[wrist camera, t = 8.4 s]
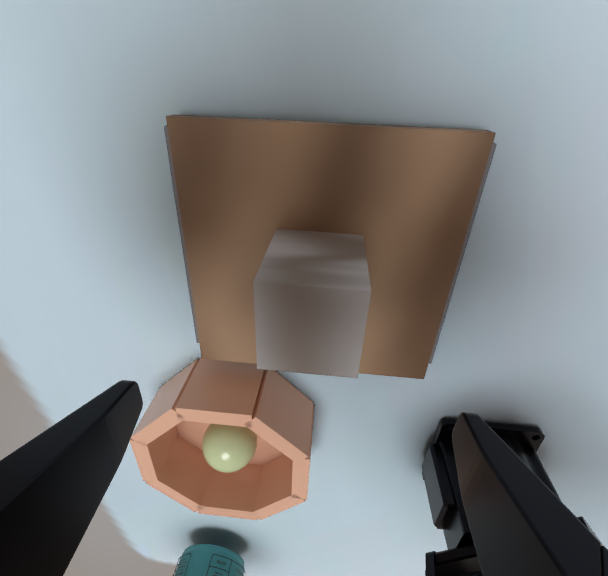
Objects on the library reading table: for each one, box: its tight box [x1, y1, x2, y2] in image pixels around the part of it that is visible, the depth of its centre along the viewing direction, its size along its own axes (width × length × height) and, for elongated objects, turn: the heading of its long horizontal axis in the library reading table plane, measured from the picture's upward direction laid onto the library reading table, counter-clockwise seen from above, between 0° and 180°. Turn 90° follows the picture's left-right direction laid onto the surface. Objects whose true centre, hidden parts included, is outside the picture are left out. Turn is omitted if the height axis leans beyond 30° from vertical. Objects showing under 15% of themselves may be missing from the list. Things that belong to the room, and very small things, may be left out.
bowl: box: [130, 358, 314, 520], centre depth 23 cm, size 11×11×4 cm
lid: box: [166, 115, 495, 379], centre depth 15 cm, size 13×13×6 cm
